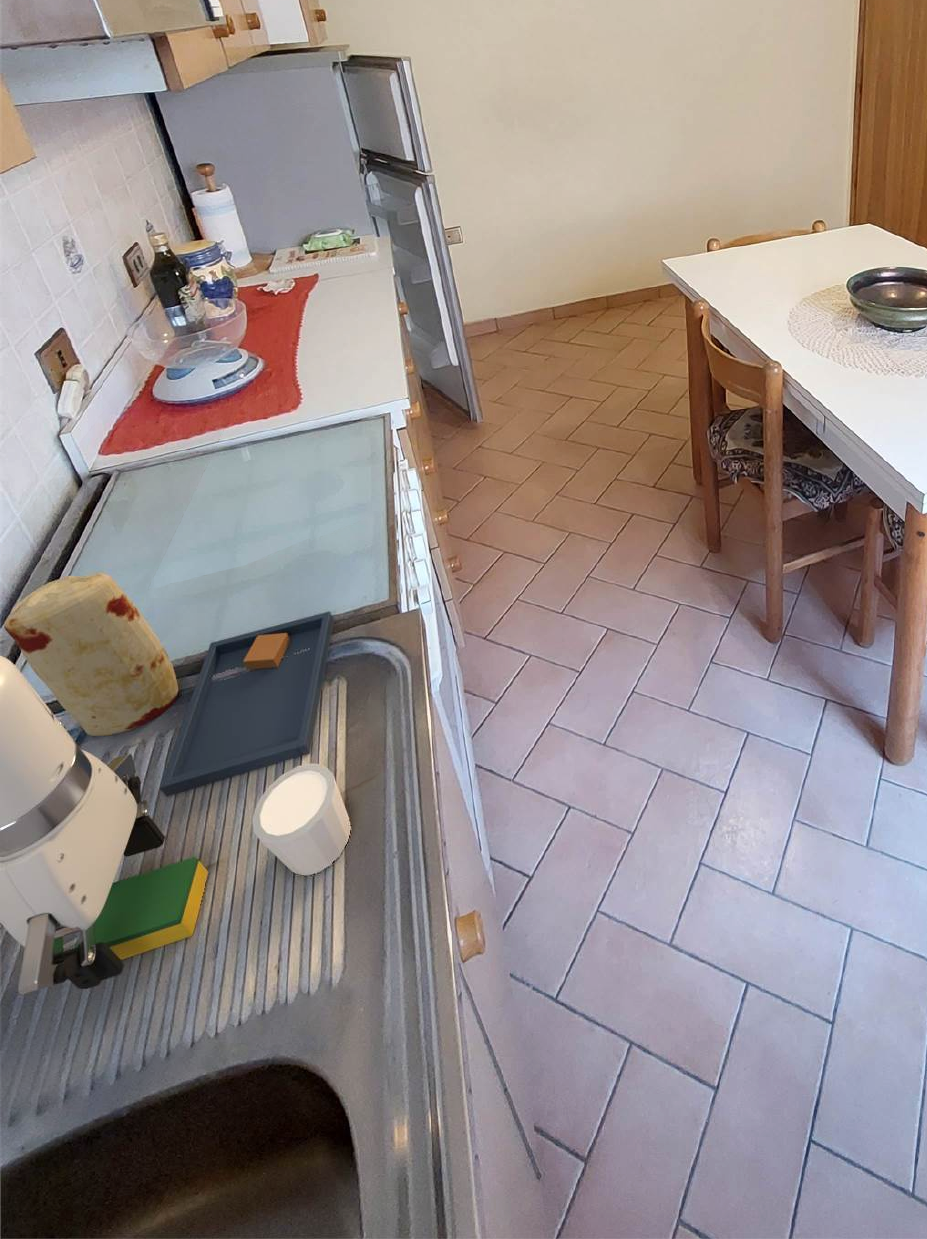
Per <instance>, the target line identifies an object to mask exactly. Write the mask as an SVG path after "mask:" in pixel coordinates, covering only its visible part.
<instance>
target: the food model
mask: <svg viewBox="0 0 927 1239" xmlns="http://www.w3.org/2000/svg"><path fill="white" fill-rule="evenodd" d="M3 628H4V630H5V631H6V632H7V634H8V635H9V636H10V637H11V638H12V639H13V640H14V641H15V643H16V644H17V646H18V647H19V649H20V651H21V653H22V655H23V657H24V658H25V660H26V661H27V663H28V664H29V666H30V668H31V669H32V670H33V672H34V673H35V674H36V676H37V677H38V678H39V679H40V680H41V681H42V683H44V684H45V686H46V687H47V688H48V689H49V690H50V692H51V693H52V694H53V697H55V699H56V701H58V703H59V704H60V705H61V707H62V708H63V709H64V710H65V711H66V712H67V713H68V714H69V715H70V716H71V717H72V718H73V719H74V720H76V722H77V723H78V724H79V725H80V726H81V728H82V729H83V731H84V732H85V733H86V734H87V735H89V736H92V737H93V736H94V737H100V736H102V737H103V736H110V735H116V734H120V733H124V732H128V731H131V730H134V729H136V728H138V727H141V726H143V725H145V724H147V723H148V722H151V721H152V720H155V719H157V718H159V717H160V716H162V714H164V713H165V712H166V711H168V710H169V709H170V708H171V707H172V706H173V705H174V704H175V701H176V700H177V697H178V694H179V685H178V680H177V676H176V672H175V669H174V666H173V663H172V661H171V659H170V658H169V655H168V654H167V652H166V650H165V647H164V646H163V644H162V643H161V641H160V639H159V638H158V636H157V635H156V633H155V631H154V630H153V629H152V627H151V626H150V624H149V623H148V622H147V620H146V619H145V618H144V616H143V615H142V613H141V611H140V610H139V609H138V607H137V606H136V605H135V603H133V601H132V600H131V598H129V597H128V596H127V594H126V593H125V592H124V591H123V589H121V587H120V586H119V585H118V584H117V583H116V582H115V581H114V579H113V578H112V577H111V576H110V575H109V574H107V573H103V572H102V573H100V572H99V573H92V574H88V575H84V576H76V575H67V576H64V577H61V578H58V579H55V580H53V581H52V580H51V581H49V582H47V583H45V584H44V585H42V586H40V587H38V588H37V589H35V590H34V591H32V592H31V593H29V594H28V595H27V596H25V597H24V598H23V599H22V600H21V601H20V602H18V603H17V604H16V605H15V607H13V609H12V611H11V612H10V613H9V615H8V616H7V617H6V620H5V621H4V624H3Z"/></svg>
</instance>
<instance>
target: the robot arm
mask: <svg viewBox="0 0 927 1239" xmlns="http://www.w3.org/2000/svg"><path fill="white" fill-rule="evenodd" d="M135 774H136V767H135V762H134V757H133V755H132V754H131V753H128V754H125V755H121V756H117V757H114V758H113V759H112V760H111V761H110V762H109V763H108V764H106V763H104V762H103V761H102V760H100V759H99V758H97V757H96V756H94V754H92V753H90V752H88V751H86V750H84V749H81V747H80V746H79V745H78V744H77V742H76V741H75V740H74V739H73V737H72V736H71V735H70V734H69V732H68V731H67V728H66V725H65V724H64V723H62V722H60V721H59V719H58V718H57V717H56V715H55V714H54V713H53V711H52V710H51V709H50V708H49V706H48V705H47V704H46V702H45V701H44V700H43V699H42V698H41V696H40V695H39V694H38V692H37V691H36V690H35V689H34V687H33V685H31V683H30V682H29V681H28V679H27V678H26V677H25V676H24V675H23V673H22V672H21V670H19V668H18V666H16V665H15V664H14V663H13V662H12V661H11V660H10V659H8V658H7V657H4V656H2V655H0V924H1V925H2V926H3V928H5V930H6V931H7V932H8V933H9V934H10V936H11V937H12V938H13V939H14V940H15V941H16V942H17V943H19V945H21V946H22V947H24V951H23V958H22V963H21V968H20V974H19V978H18V979H19V980H18V986H17V994H18V995H20V996H22V995H26V994H30V993H33V992H36V991H41V990H45V989H47V988H51V987H54V986H57V985H60V984H62V983H65V982H67V981H69V982H71V983H72V984H73V985H74V986H75V987H76V988H77V989H80V990H88V989H92V988H94V987H98V986H99V985H100V984H101V983H102V981H105V980H107V979H110V978H114V977H116V976H119V975H121V974H122V972H123V968H124V966H125V965H124V962H123V959H122V960H121V959H120V958H119V957H118V956H117V955H116V954H115V953H114V952H113V951H112V950H111V949H110V948H109V947H108V946H107V945H106V944H105V943H104V942H100V943H97V944H96V938H95V923H94V922H95V920H96V919H97V918H98V916H99V915H100V913H101V911H102V909H103V907H104V904H105V902H106V899H107V897H108V894H109V891H110V889H111V886H112V883H114V882H115V878H116V876H117V872H118V870H119V867H120V864H121V862H122V859H123V857H132V856H135V855H138V854H142V853H145V852H148V851H152V850H155V849H159V848H160V847H161V846H163V845H164V842H165V840H166V835H165V834H164V833H163V831H161V829H160V828H159V827H158V825H157V824H156V823H155V822H154V820H153V819H152V817H151V816H150V815H149V814H147V813H148V809H149V803H148V800H146V799H143V800H142V794H141V784H142V781H141V778H140V777H139V776H138V775H136V776H135ZM146 814H147V815H146ZM75 933H77V934H76V935H77V936H76V937H77V938H78V947H76V948H74V947H73V948H70V949H66V950H64V938H63V937H66V936H68V935H72V934H75Z"/></svg>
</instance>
